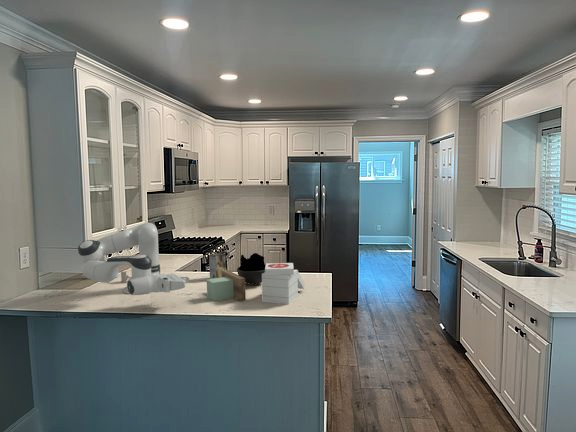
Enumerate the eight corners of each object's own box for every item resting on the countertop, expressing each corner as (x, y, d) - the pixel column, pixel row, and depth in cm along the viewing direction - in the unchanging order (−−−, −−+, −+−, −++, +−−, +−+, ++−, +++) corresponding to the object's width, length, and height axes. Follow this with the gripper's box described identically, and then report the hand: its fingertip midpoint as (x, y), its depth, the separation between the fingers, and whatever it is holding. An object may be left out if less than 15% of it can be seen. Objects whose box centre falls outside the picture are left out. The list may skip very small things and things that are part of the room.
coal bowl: (273, 280, 275) (272, 251, 273) (265, 289, 255) (265, 257, 253) (242, 279, 278) (241, 250, 276) (233, 287, 259) (232, 256, 257)
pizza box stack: (308, 290, 250) (307, 259, 248) (290, 305, 222) (290, 270, 220) (277, 288, 257) (276, 258, 255) (256, 302, 228) (255, 268, 227)
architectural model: (126, 281, 281) (125, 270, 280) (132, 283, 276) (131, 271, 276) (121, 282, 278) (120, 271, 277) (127, 284, 274) (126, 272, 273)
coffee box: (219, 276, 288) (219, 252, 286) (226, 278, 284) (226, 253, 282) (209, 279, 281) (208, 254, 279) (216, 280, 277) (215, 255, 275)
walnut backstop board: (240, 301, 231) (240, 279, 229) (222, 290, 253) (221, 270, 252) (245, 300, 232) (245, 278, 231) (226, 289, 254) (226, 269, 253)
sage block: (213, 301, 232) (212, 282, 231) (207, 297, 240) (206, 279, 239) (233, 297, 238) (233, 279, 237) (227, 294, 246) (226, 276, 245)
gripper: (157, 284, 230) (182, 280, 237) (167, 293, 212) (195, 289, 219) (156, 272, 229) (182, 269, 236) (167, 280, 212) (194, 276, 219)
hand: (188, 278), depth 228 cm, fingers closed
